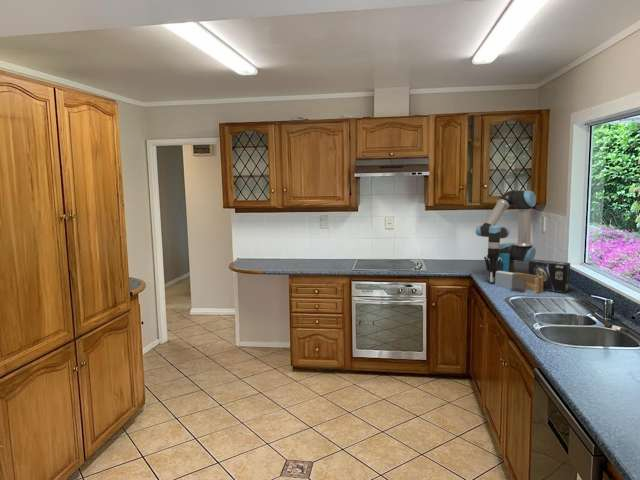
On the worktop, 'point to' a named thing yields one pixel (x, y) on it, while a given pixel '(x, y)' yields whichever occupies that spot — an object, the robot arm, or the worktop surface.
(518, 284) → the bookend
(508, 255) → the block
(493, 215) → the robot arm
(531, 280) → the wooden stepped piece
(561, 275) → the box
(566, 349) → the worktop surface
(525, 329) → the worktop surface
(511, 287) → the book
